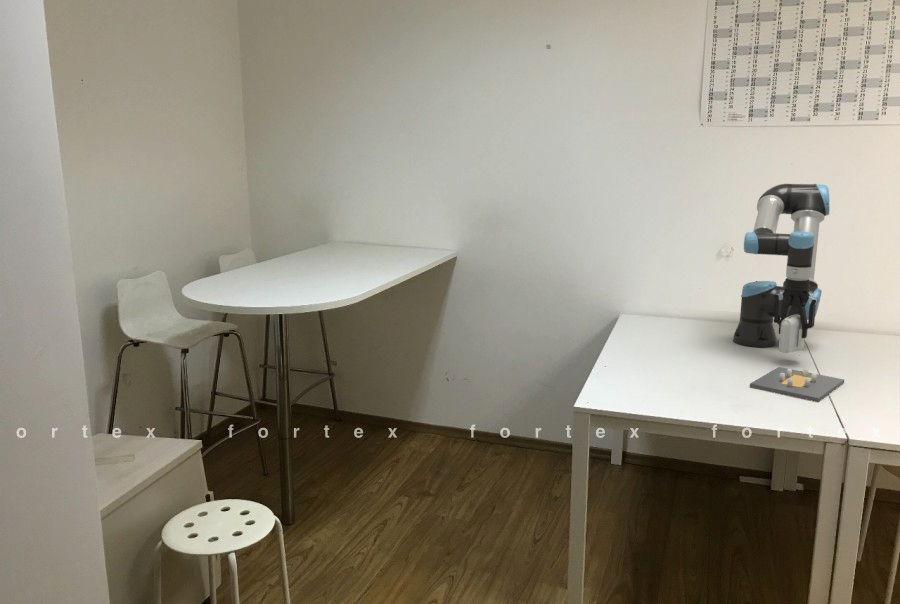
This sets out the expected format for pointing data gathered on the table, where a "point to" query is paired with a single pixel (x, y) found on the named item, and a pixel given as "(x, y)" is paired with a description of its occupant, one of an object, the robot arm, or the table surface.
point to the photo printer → (790, 334)
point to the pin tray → (797, 383)
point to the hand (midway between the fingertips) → (791, 345)
